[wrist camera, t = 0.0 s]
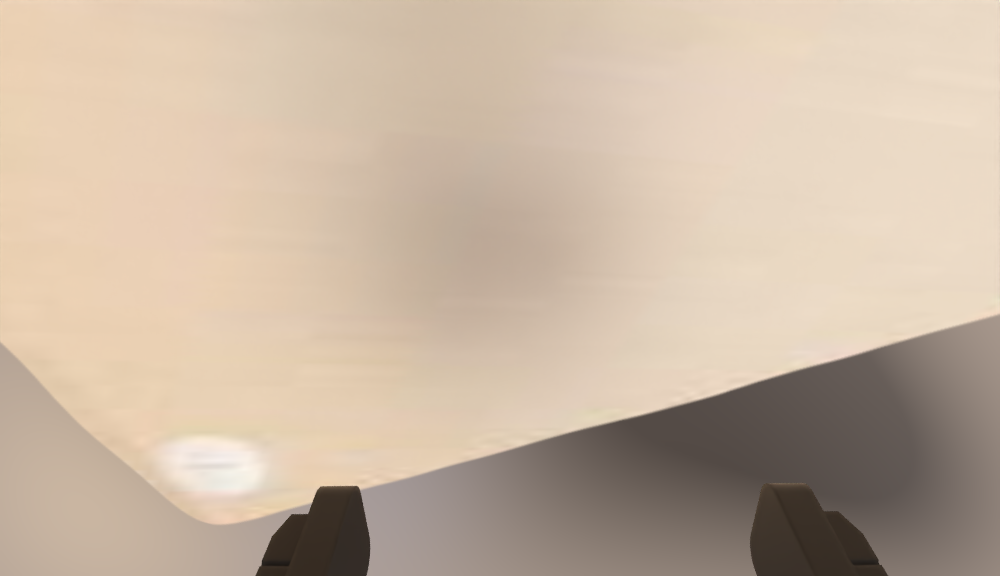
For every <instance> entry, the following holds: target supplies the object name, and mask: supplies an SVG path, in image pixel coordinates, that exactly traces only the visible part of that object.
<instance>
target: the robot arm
mask: <svg viewBox="0 0 1000 576" xmlns="http://www.w3.org/2000/svg"><path fill="white" fill-rule="evenodd" d="M750 548H751V556H752V561H753V565H754V568H755V571H756V574H757V576H888V575H887V573H886V572H885V570H884V568H883V567H882V565H879V563H878V558H877V557H876V555H875V554H874V552H873V550H872V548H871V547H870V545H869V543H868V542H867V540H866V538H865V537H864V535H863V534H862V533H861V532H860V531H859V530H858V529H857V528H856V527H855V526H854V525H853V524H851V523H850V522H849V521H848V520H847V519H846V518H845V517H844V516H843V515H842V514H841V513H839V512H837V511H834V512H833V511H830V512H824V511H823V510H822V508H821V506H820V504H819V502H818V500H817V499H816V497H815V495H814V493H813V492H812V490H811V488H810V487H809V486H808V485H807V484H805V483H771V484H770V483H766V484H764V485H763V486H762V489H761V492H760V497H759V501H758V506H757V510H756V514H755V519H754V523H753V527H752V532H751V537H750ZM369 558H370V537H369V532H368V527H367V522H366V517H365V512H364V508H363V502H362V497H361V493H360V489H359V487H358V486H322V487H320V488H319V489H318V490H317V492H316V495H315V497H314V500H313V503H312V505H311V508H310V511H309V513H308V514H292V515H291V516H290V517H289V518H288V519H287V520H286V521H285V523H284V524H283V525H282V526H281V527H280V528H279V529H278V530H277V532H276V533H275V534H274V535H273V536H272V538H271V541H270V543H269V545H268V548H267V550H266V552H265V555H264V557H263V560H262V565H261V566H260V567H259V569H258V572H257V574H256V576H366V575H367V571H368V566H369Z"/></svg>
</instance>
